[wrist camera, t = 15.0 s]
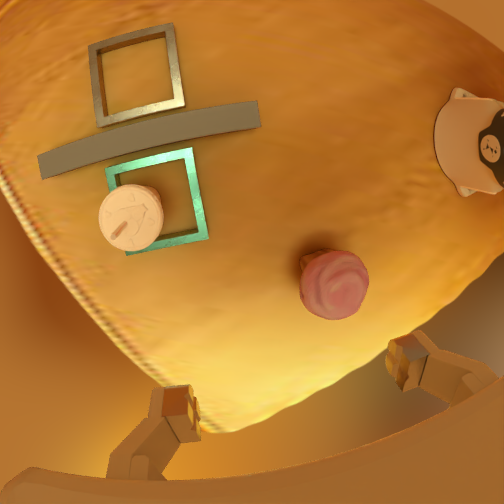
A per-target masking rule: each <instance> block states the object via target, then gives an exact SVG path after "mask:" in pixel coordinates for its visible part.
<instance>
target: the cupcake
mask: <svg viewBox="0 0 504 504" xmlns="http://www.w3.org/2000/svg"><path fill="white" fill-rule="evenodd" d="M299 263H300V267H301V270H302V273H303V274H302V276H301V280H300V298H301V300H302V302H303V304H304V306H305V307H306V308H307V309H308V310H309V311H310V312H311V313H313V314H315V315H317V316H319V317H322V318H325V319H328V320H339V319H343V318H346V317H348V316H351V315H353V314H354V313H356V312H357V311H358V309H359V308H360V306H361V303H362V302H363V300H364V297H365V295H366V292H367V288H368V285H369V276H368V272H367V269H366V268H365V266H364V264H363V263H362V261H361V260H360V258H359V257H357V256H356V255H355V254H353V253H351V252H348V251H334V250H331V249H328V248H326V249H323V250H320V251H316V252H314V253H312V254H308V255H304V256H302V257H301V259H300V261H299Z"/></svg>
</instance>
